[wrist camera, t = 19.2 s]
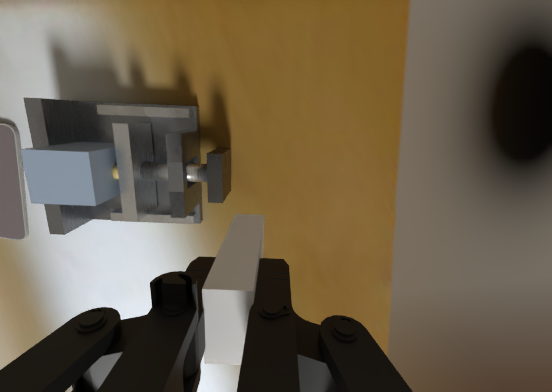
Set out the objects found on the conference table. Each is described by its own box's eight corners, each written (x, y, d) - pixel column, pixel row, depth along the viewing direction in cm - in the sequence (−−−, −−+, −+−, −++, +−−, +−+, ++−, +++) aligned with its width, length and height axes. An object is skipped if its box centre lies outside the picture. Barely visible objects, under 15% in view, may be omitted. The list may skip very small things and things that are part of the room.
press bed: (69, 101, 32) (17, 97, 26) (198, 106, 32) (179, 104, 26) (86, 215, 36) (45, 236, 30) (202, 220, 36) (186, 241, 30)
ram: (137, 122, 32) (111, 123, 27) (230, 126, 32) (221, 127, 27) (145, 206, 34) (123, 221, 29) (230, 209, 34) (222, 225, 29)
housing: (81, 141, 32) (20, 149, 25) (140, 144, 32) (97, 152, 25) (87, 183, 34) (31, 203, 26) (144, 185, 34) (104, 206, 26)
